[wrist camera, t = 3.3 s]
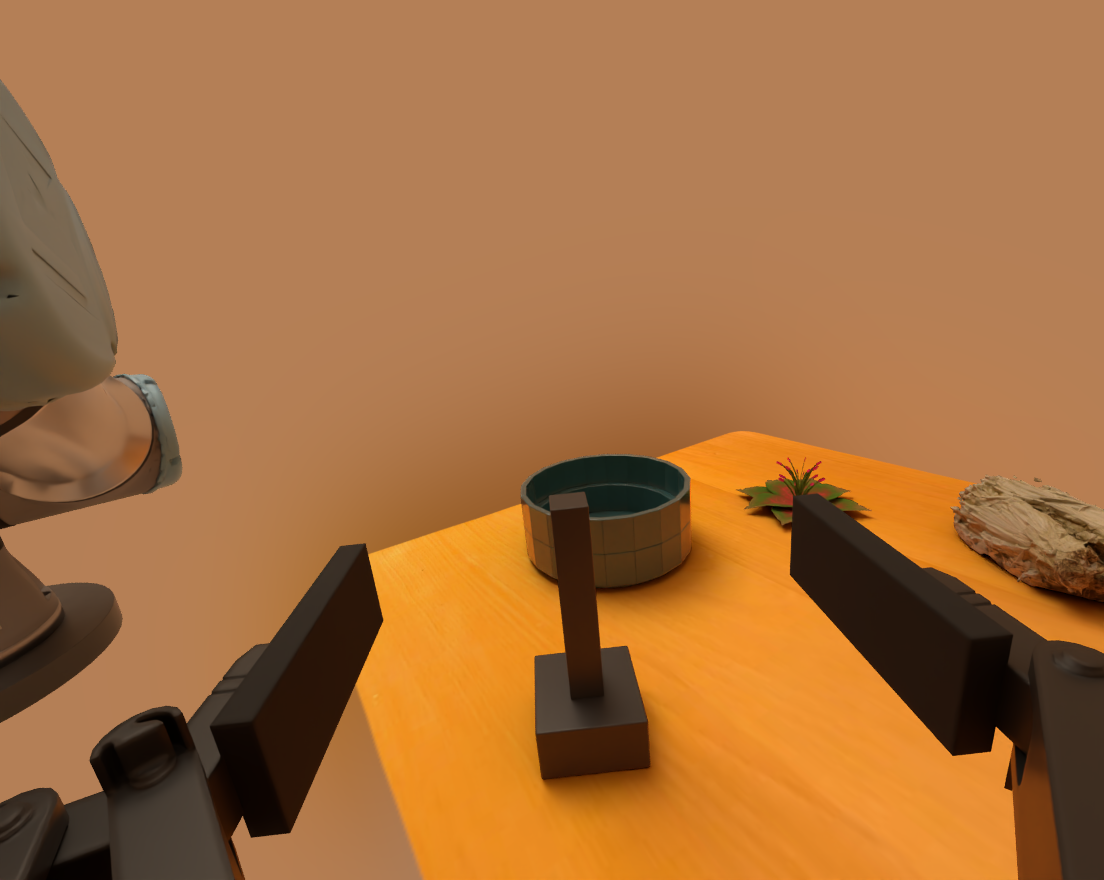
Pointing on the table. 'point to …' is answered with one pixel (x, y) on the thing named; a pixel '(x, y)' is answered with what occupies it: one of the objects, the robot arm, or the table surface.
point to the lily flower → (796, 494)
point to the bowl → (615, 515)
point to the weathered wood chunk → (1035, 534)
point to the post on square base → (585, 669)
